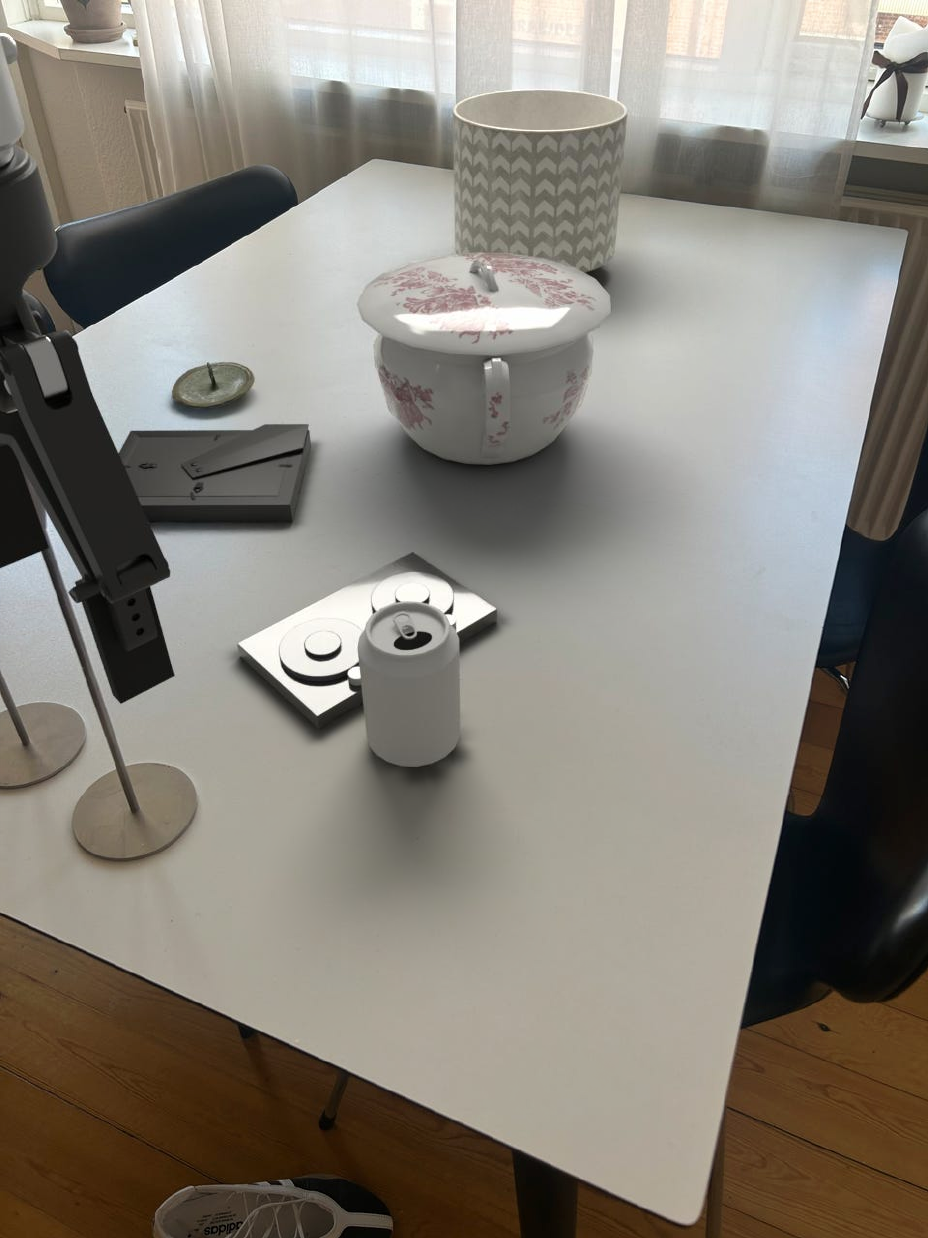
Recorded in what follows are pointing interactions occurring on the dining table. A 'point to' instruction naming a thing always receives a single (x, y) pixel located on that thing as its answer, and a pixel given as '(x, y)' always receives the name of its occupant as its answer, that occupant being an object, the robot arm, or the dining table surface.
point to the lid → (212, 385)
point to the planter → (539, 174)
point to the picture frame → (218, 473)
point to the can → (410, 683)
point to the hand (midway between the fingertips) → (78, 615)
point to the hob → (352, 635)
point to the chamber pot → (484, 350)
